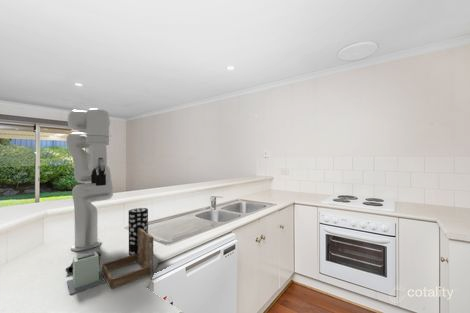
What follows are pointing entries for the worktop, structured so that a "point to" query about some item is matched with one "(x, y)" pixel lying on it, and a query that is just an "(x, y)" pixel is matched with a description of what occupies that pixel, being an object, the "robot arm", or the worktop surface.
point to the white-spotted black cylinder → (136, 227)
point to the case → (142, 258)
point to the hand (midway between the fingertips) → (98, 184)
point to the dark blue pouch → (70, 268)
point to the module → (85, 269)
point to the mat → (84, 287)
